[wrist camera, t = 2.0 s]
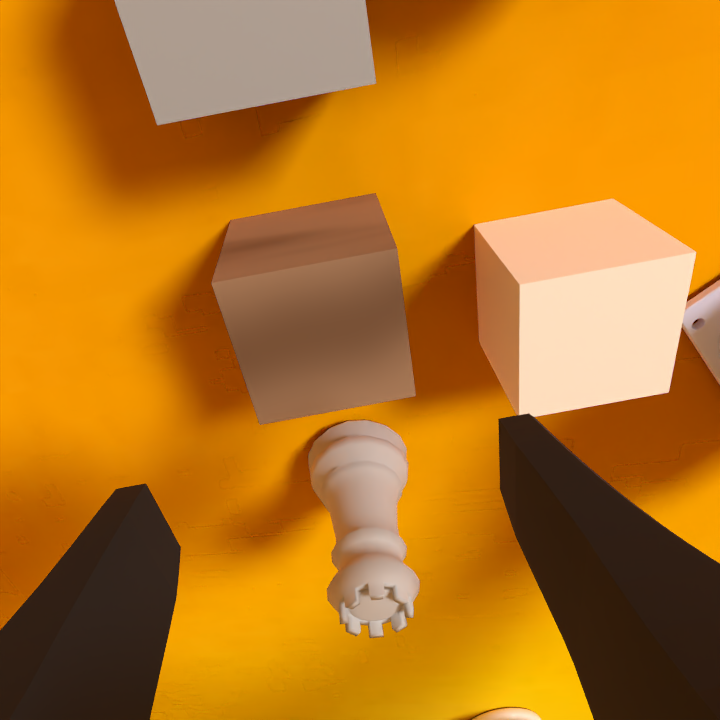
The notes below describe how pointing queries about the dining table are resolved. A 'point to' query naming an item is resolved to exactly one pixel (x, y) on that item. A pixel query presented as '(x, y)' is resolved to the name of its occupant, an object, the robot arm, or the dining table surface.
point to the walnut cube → (315, 308)
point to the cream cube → (580, 305)
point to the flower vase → (509, 714)
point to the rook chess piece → (365, 523)
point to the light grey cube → (244, 52)
